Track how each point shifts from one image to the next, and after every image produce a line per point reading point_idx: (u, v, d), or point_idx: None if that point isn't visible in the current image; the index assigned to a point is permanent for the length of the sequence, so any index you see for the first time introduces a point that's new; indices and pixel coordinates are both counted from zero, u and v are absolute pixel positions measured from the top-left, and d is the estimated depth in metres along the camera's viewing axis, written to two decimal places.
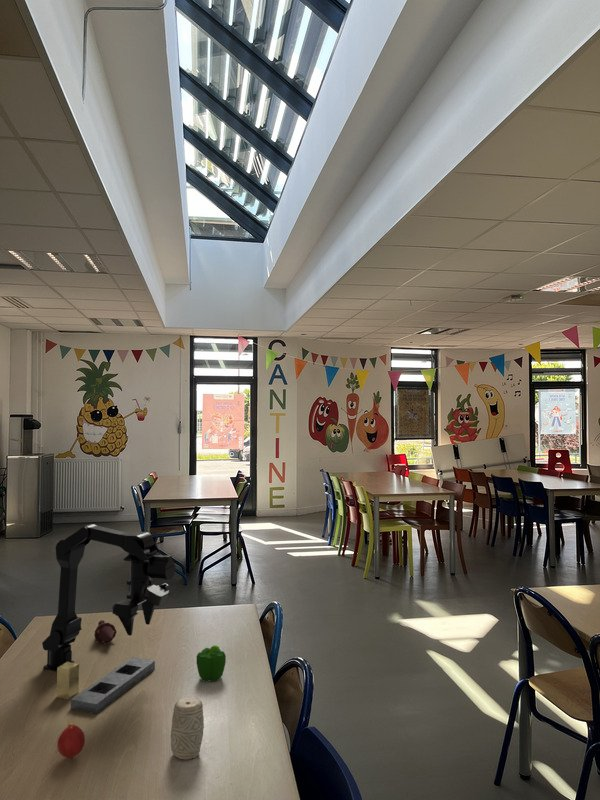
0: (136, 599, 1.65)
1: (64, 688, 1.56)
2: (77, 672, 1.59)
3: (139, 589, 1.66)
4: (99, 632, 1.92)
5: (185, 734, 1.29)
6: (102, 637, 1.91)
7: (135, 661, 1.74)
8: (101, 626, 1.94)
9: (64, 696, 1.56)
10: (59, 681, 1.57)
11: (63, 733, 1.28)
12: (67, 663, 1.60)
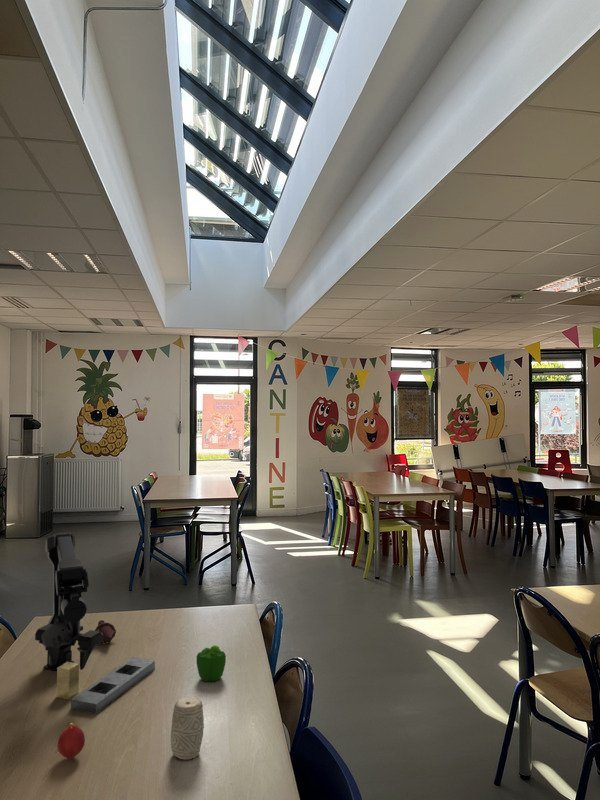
0: None
1: (64, 688, 1.56)
2: (77, 672, 1.59)
3: None
4: None
5: (185, 734, 1.29)
6: None
7: (135, 661, 1.74)
8: (100, 626, 1.94)
9: (64, 696, 1.56)
10: (59, 681, 1.57)
11: (63, 733, 1.28)
12: (67, 663, 1.60)
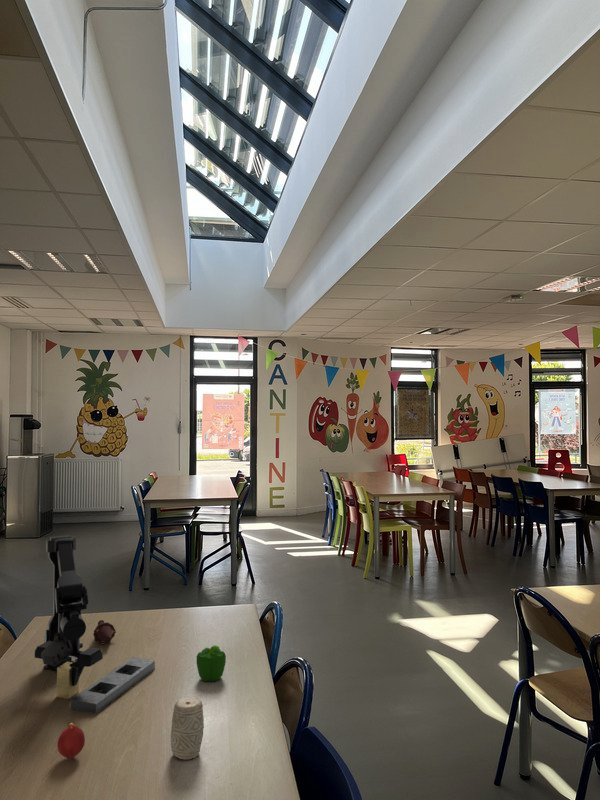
0: None
1: (64, 688, 1.56)
2: None
3: None
4: (98, 632, 1.93)
5: (185, 734, 1.29)
6: (101, 637, 1.91)
7: (135, 661, 1.74)
8: (100, 626, 1.94)
9: (64, 696, 1.56)
10: (59, 681, 1.57)
11: (63, 733, 1.28)
12: (67, 663, 1.60)
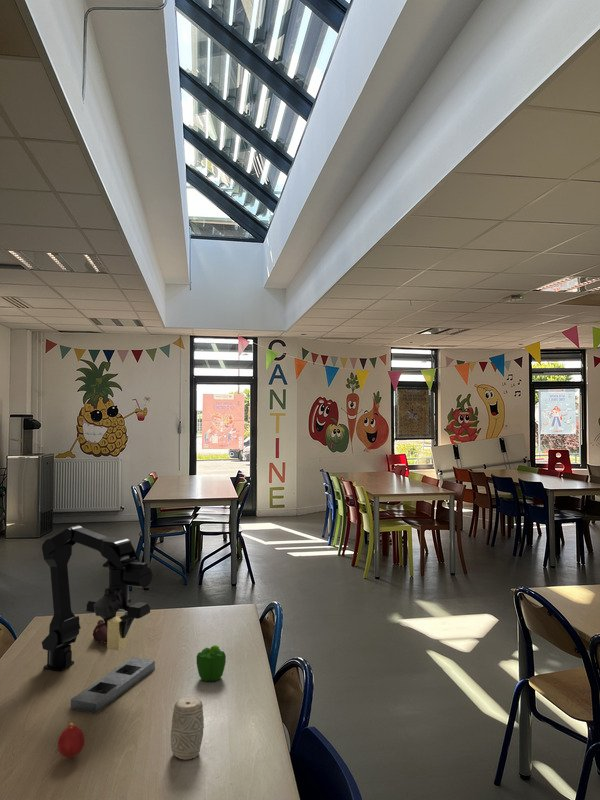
0: None
1: (114, 639, 1.64)
2: None
3: None
4: (97, 631, 1.93)
5: (185, 734, 1.29)
6: (100, 636, 1.92)
7: (135, 661, 1.74)
8: (99, 625, 1.94)
9: (114, 647, 1.64)
10: (109, 633, 1.65)
11: (63, 733, 1.28)
12: (116, 617, 1.68)
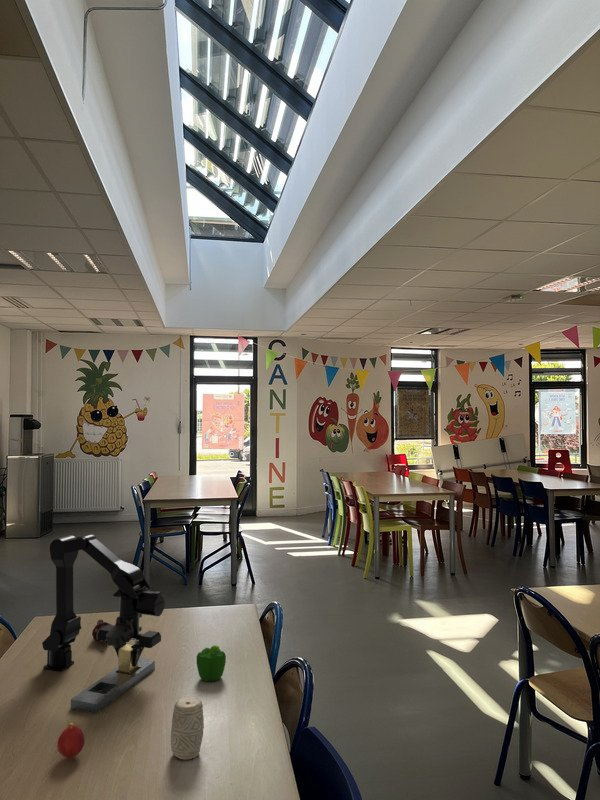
0: None
1: (125, 668, 1.67)
2: None
3: None
4: (97, 631, 1.93)
5: (185, 734, 1.29)
6: None
7: None
8: (99, 625, 1.94)
9: None
10: (120, 661, 1.67)
11: (63, 733, 1.28)
12: (127, 645, 1.70)
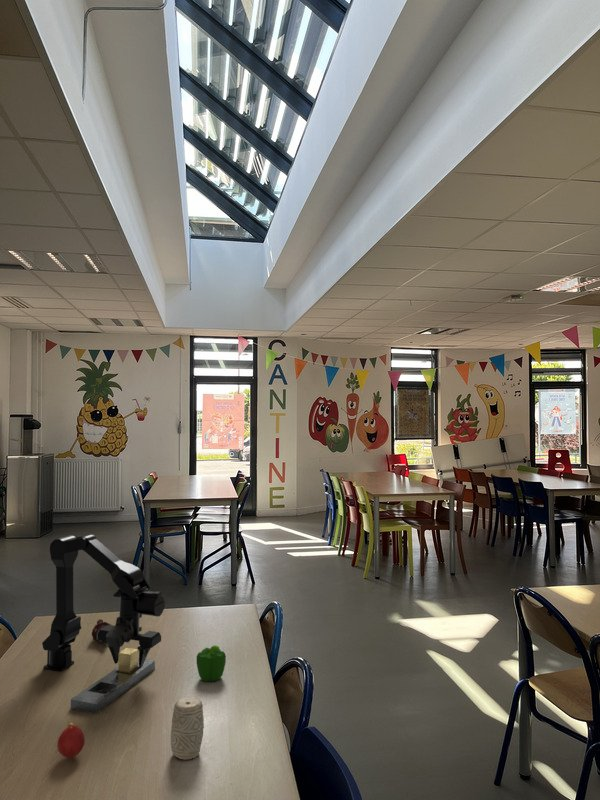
0: None
1: (125, 672, 1.67)
2: (136, 657, 1.69)
3: None
4: (96, 631, 1.93)
5: (185, 734, 1.29)
6: None
7: None
8: (98, 625, 1.94)
9: None
10: (120, 665, 1.67)
11: (63, 733, 1.28)
12: (127, 649, 1.70)
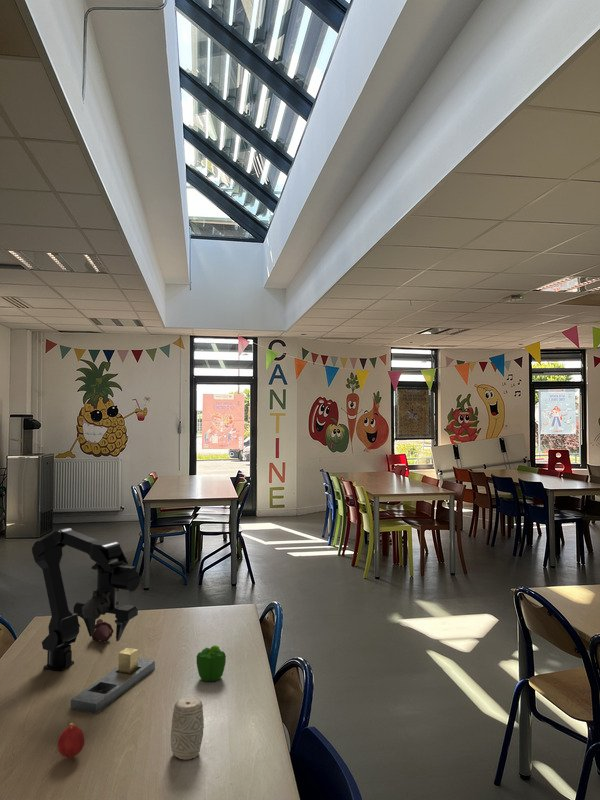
0: None
1: (125, 672, 1.67)
2: (136, 657, 1.69)
3: None
4: (95, 631, 1.93)
5: (185, 734, 1.29)
6: (98, 636, 1.92)
7: None
8: (98, 625, 1.95)
9: None
10: (120, 665, 1.67)
11: (63, 733, 1.28)
12: (127, 649, 1.70)
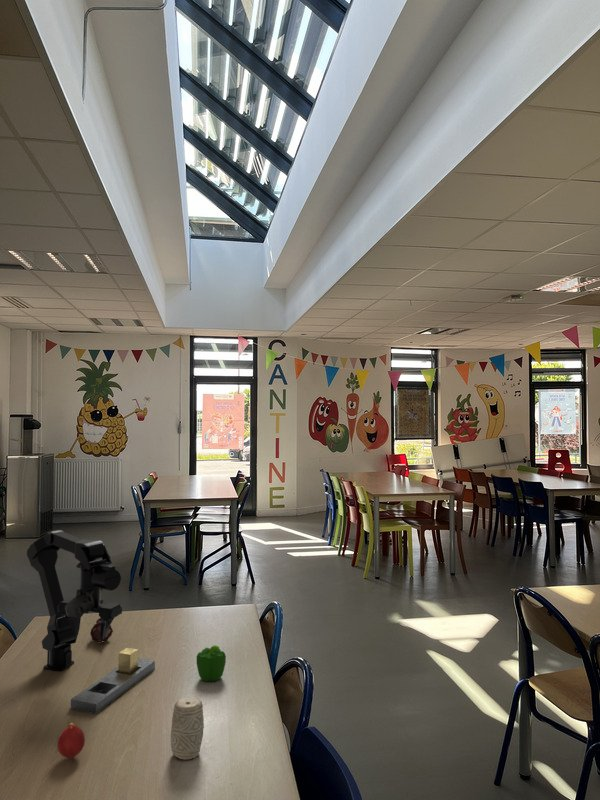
0: None
1: (125, 672, 1.67)
2: (136, 657, 1.69)
3: None
4: (95, 631, 1.94)
5: (185, 734, 1.29)
6: (97, 636, 1.92)
7: None
8: (97, 625, 1.95)
9: None
10: (120, 665, 1.67)
11: (63, 733, 1.28)
12: (127, 649, 1.70)
